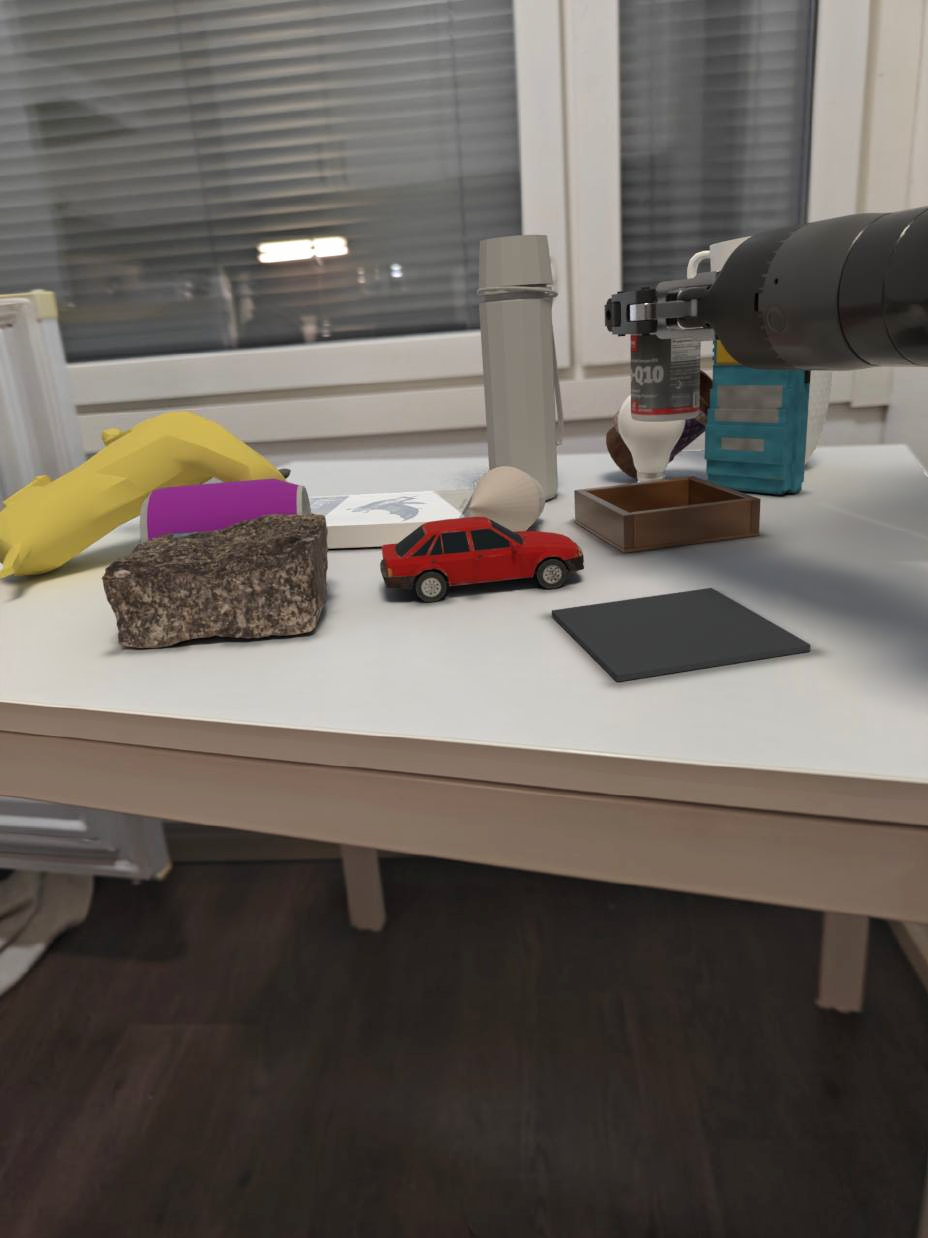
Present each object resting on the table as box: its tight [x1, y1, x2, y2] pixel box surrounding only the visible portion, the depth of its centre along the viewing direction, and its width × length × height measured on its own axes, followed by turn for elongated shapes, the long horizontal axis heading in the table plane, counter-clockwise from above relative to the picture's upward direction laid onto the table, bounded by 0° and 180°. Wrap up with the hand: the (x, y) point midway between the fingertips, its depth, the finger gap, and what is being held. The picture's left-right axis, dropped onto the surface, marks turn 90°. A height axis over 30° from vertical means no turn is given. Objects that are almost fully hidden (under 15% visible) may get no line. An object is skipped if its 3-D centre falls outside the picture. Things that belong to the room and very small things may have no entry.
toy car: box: [379, 517, 585, 603], centre depth 60 cm, size 6×14×5 cm, turn 98°
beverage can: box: [139, 478, 311, 544], centre depth 66 cm, size 8×8×12 cm
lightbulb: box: [617, 393, 686, 483], centre depth 81 cm, size 6×6×11 cm
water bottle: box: [475, 234, 565, 502], centre depth 85 cm, size 9×8×25 cm
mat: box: [551, 587, 812, 683], centre depth 49 cm, size 11×11×1 cm
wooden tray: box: [573, 475, 761, 554], centre depth 72 cm, size 12×12×3 cm
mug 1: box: [605, 369, 713, 481], centre depth 89 cm, size 10×7×12 cm
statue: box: [0, 410, 288, 579], centre depth 74 cm, size 27×13×20 cm
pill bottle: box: [629, 290, 702, 422], centre depth 58 cm, size 5×5×8 cm
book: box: [308, 488, 475, 549], centre depth 79 cm, size 23×14×2 cm, turn 83°
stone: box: [101, 513, 329, 649], centre depth 57 cm, size 11×13×6 cm
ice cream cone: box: [470, 466, 546, 532], centre depth 72 cm, size 6×6×15 cm
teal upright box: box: [704, 340, 811, 496], centre depth 81 cm, size 10×4×15 cm, turn 43°
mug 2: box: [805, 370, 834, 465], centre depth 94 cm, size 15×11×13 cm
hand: (643, 312), depth 60 cm, fingers closed on pill bottle, 4 cm apart
